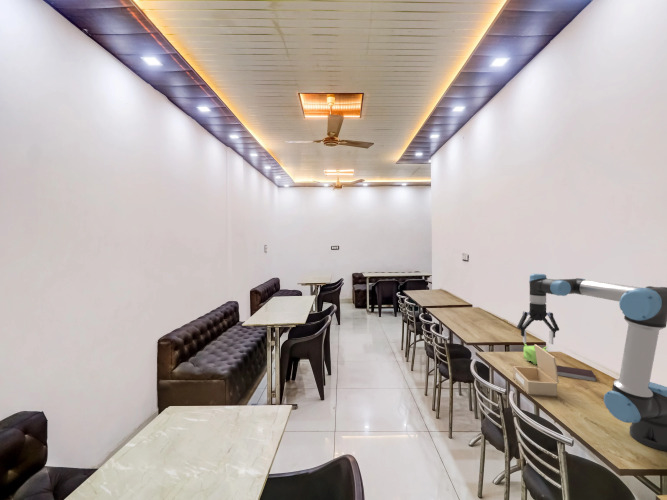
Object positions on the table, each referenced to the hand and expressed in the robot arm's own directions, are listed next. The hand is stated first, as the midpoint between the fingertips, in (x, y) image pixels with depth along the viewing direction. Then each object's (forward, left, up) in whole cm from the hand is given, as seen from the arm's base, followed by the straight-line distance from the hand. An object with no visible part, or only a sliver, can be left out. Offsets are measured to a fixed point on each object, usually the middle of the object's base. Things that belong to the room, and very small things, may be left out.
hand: (537, 343), depth 170 cm
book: (+34, -35, -29) cm, 56 cm away
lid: (+12, -9, -14) cm, 20 cm away
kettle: (+53, -21, -29) cm, 63 cm away
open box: (+12, -3, -28) cm, 31 cm away
